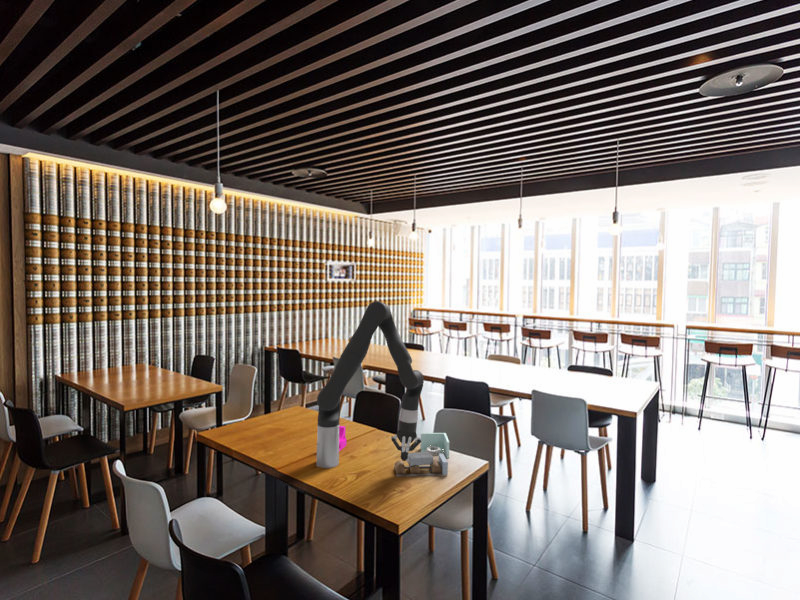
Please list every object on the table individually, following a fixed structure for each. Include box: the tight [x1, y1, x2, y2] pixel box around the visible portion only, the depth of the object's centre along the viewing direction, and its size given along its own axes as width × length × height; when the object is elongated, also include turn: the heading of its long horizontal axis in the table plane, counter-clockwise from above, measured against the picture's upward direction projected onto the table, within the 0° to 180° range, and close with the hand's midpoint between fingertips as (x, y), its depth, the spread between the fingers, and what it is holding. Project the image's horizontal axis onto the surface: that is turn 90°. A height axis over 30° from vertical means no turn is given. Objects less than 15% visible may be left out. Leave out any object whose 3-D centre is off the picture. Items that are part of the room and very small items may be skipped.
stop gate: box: [437, 453, 449, 476], centre depth 181 cm, size 2×9×6 cm, turn 6°
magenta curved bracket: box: [339, 425, 347, 452], centre depth 208 cm, size 15×6×8 cm, turn 165°
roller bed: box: [394, 459, 443, 477], centre depth 180 cm, size 19×8×4 cm, turn 96°
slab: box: [405, 451, 434, 466], centre depth 181 cm, size 10×6×3 cm, turn 106°
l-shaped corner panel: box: [419, 432, 450, 459], centre depth 201 cm, size 12×12×8 cm
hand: (403, 460), depth 179 cm, fingers closed
